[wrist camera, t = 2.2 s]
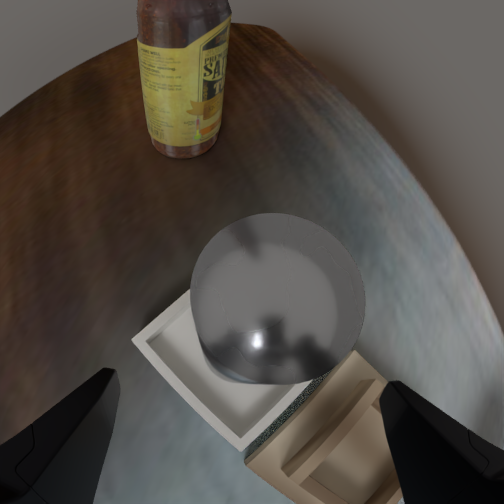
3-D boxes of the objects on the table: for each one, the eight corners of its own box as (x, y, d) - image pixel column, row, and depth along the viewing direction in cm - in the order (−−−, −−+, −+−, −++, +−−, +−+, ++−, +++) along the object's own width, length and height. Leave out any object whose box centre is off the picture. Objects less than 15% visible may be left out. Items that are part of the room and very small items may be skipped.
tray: (237, 445, 16) (240, 452, 14) (137, 343, 18) (131, 339, 16) (332, 347, 19) (343, 344, 18) (238, 256, 21) (240, 245, 20)
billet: (238, 397, 17) (286, 423, 6) (187, 346, 18) (151, 286, 7) (288, 348, 19) (393, 292, 8) (238, 299, 19) (277, 185, 9)
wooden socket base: (352, 535, 13) (372, 551, 11) (243, 460, 16) (250, 474, 13) (435, 435, 17) (461, 437, 14) (347, 351, 19) (369, 345, 17)
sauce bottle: (217, 164, 24) (246, -91, 6) (143, 162, 24) (114, -82, 6) (222, 114, 27) (248, -89, 9) (158, 112, 26) (150, -87, 8)
